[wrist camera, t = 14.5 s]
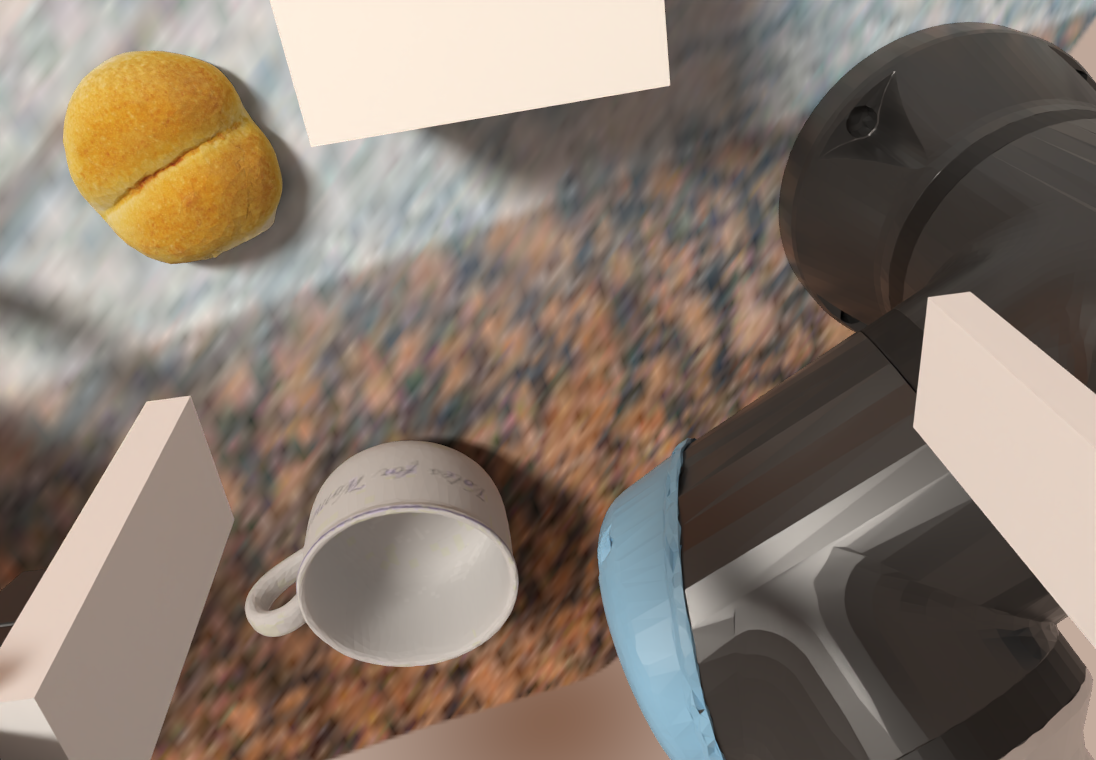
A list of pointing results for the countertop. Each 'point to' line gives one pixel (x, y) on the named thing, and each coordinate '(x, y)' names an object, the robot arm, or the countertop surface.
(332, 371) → the countertop surface
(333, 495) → the teacup
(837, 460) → the robot arm
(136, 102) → the bread roll
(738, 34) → the countertop surface
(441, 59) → the cover
